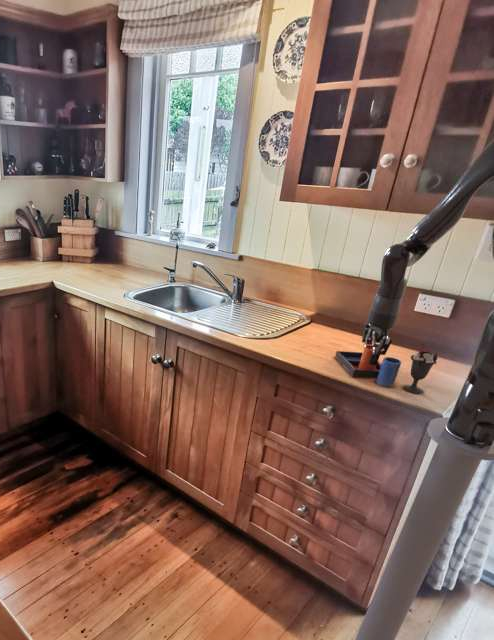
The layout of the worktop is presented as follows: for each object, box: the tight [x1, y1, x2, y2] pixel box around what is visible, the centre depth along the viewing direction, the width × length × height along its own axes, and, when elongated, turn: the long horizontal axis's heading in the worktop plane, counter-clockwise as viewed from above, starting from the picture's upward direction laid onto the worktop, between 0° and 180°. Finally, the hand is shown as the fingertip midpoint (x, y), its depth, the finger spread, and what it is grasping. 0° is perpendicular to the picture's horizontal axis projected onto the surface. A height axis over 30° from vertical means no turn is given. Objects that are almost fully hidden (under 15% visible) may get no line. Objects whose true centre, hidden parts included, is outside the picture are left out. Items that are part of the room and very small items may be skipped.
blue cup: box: [375, 356, 402, 388], centre depth 142 cm, size 5×5×8 cm
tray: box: [334, 350, 382, 379], centre depth 153 cm, size 15×11×3 cm
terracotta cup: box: [358, 345, 378, 370], centre depth 148 cm, size 5×5×8 cm
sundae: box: [403, 343, 438, 394], centre depth 138 cm, size 7×7×15 cm
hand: (368, 360), depth 148 cm, fingers closed on terracotta cup, 5 cm apart
